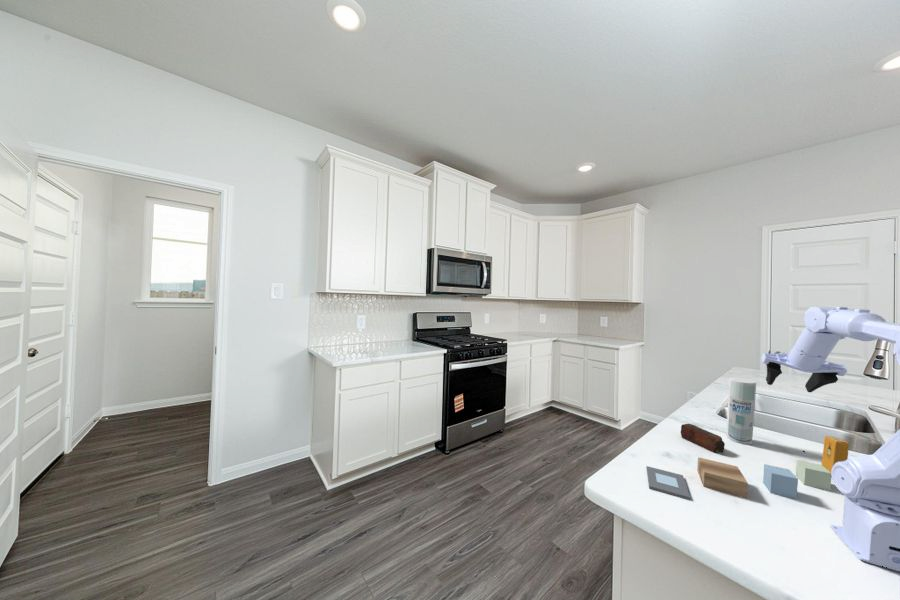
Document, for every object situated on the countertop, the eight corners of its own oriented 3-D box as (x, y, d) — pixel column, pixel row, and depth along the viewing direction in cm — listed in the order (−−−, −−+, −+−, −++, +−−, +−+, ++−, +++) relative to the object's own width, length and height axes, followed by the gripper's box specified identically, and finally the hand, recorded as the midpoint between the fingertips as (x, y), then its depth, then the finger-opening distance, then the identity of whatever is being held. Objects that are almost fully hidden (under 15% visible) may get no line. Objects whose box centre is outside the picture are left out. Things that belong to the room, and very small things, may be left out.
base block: (746, 499, 73) (747, 483, 73) (703, 487, 77) (704, 472, 77) (736, 481, 80) (737, 466, 80) (697, 471, 84) (698, 457, 84)
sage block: (830, 491, 77) (831, 473, 76) (804, 485, 79) (805, 467, 79) (820, 481, 80) (821, 464, 80) (795, 476, 83) (796, 459, 82)
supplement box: (848, 480, 81) (851, 442, 81) (832, 478, 82) (834, 441, 82) (835, 472, 84) (837, 436, 84) (819, 471, 85) (822, 435, 85)
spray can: (751, 439, 103) (755, 380, 102) (753, 447, 98) (757, 384, 97) (725, 433, 107) (728, 376, 106) (726, 440, 102) (729, 380, 101)
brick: (679, 438, 103) (680, 424, 103) (688, 436, 104) (689, 422, 104) (715, 454, 93) (716, 439, 93) (724, 452, 94) (725, 437, 94)
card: (690, 499, 72) (690, 497, 72) (649, 488, 76) (649, 485, 76) (682, 477, 81) (682, 474, 81) (646, 468, 84) (646, 465, 84)
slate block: (796, 499, 73) (798, 478, 73) (770, 493, 75) (771, 473, 75) (787, 489, 77) (789, 469, 77) (762, 483, 79) (764, 464, 79)
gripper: (848, 343, 75) (820, 381, 82) (767, 333, 81) (748, 368, 89) (862, 364, 70) (831, 402, 77) (774, 351, 77) (754, 387, 84)
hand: (787, 385), depth 83 cm, fingers open, 7 cm apart
